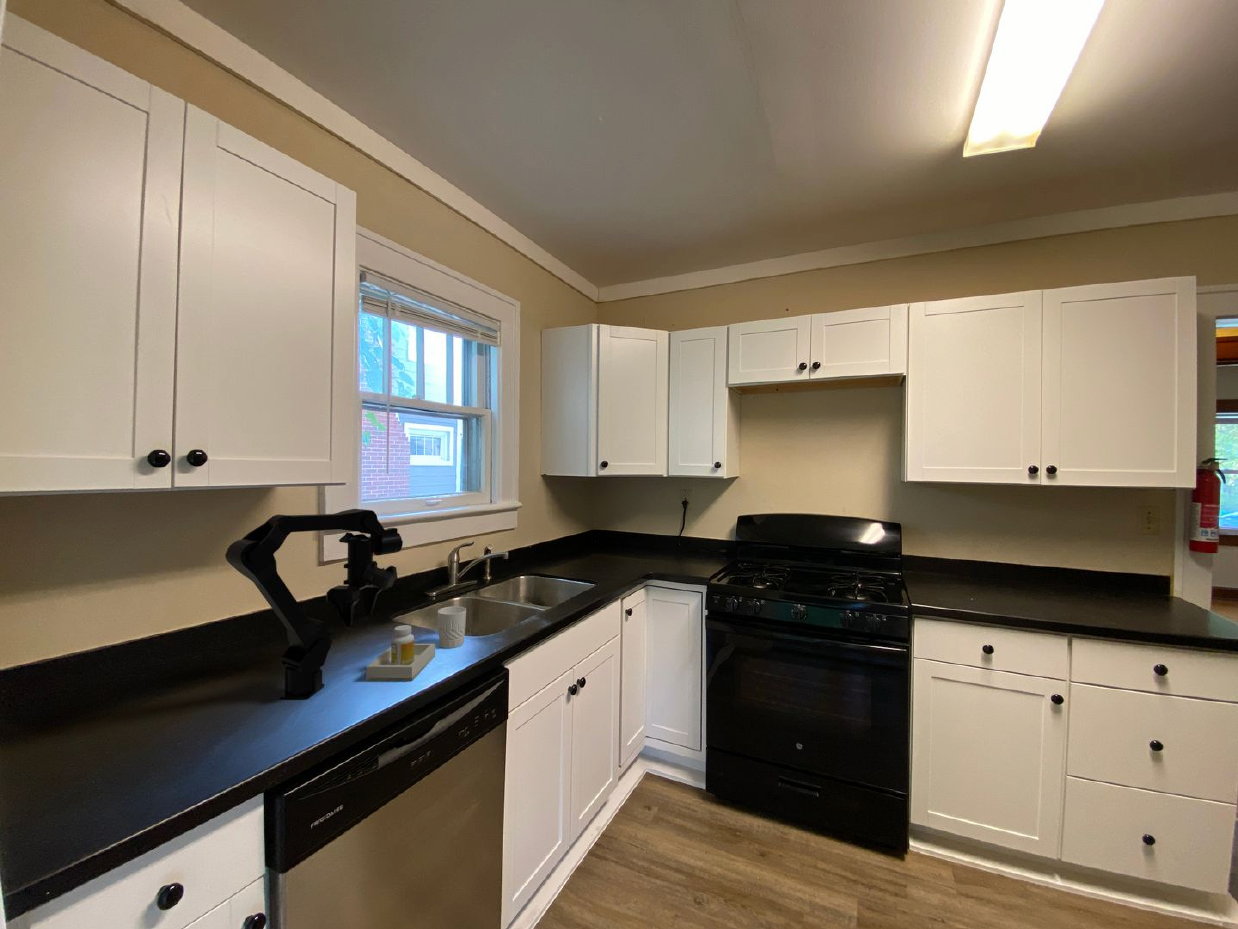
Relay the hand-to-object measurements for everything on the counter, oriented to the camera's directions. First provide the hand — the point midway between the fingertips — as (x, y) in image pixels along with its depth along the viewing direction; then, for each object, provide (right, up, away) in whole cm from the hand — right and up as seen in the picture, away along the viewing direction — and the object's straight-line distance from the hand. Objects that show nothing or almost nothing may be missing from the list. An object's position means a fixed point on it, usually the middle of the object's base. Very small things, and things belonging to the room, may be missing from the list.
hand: (359, 620), depth 124 cm
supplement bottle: (+10, -12, +2) cm, 16 cm away
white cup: (+17, -13, +18) cm, 28 cm away
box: (+10, -13, +2) cm, 17 cm away
